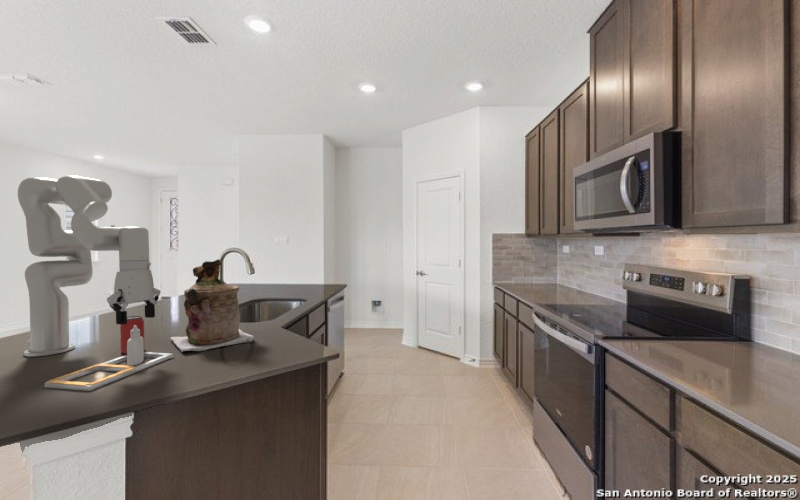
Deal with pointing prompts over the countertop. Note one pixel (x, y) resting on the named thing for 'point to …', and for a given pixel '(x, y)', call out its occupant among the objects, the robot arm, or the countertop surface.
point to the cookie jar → (211, 312)
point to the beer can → (128, 327)
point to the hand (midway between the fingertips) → (136, 320)
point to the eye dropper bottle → (135, 348)
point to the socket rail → (106, 366)
